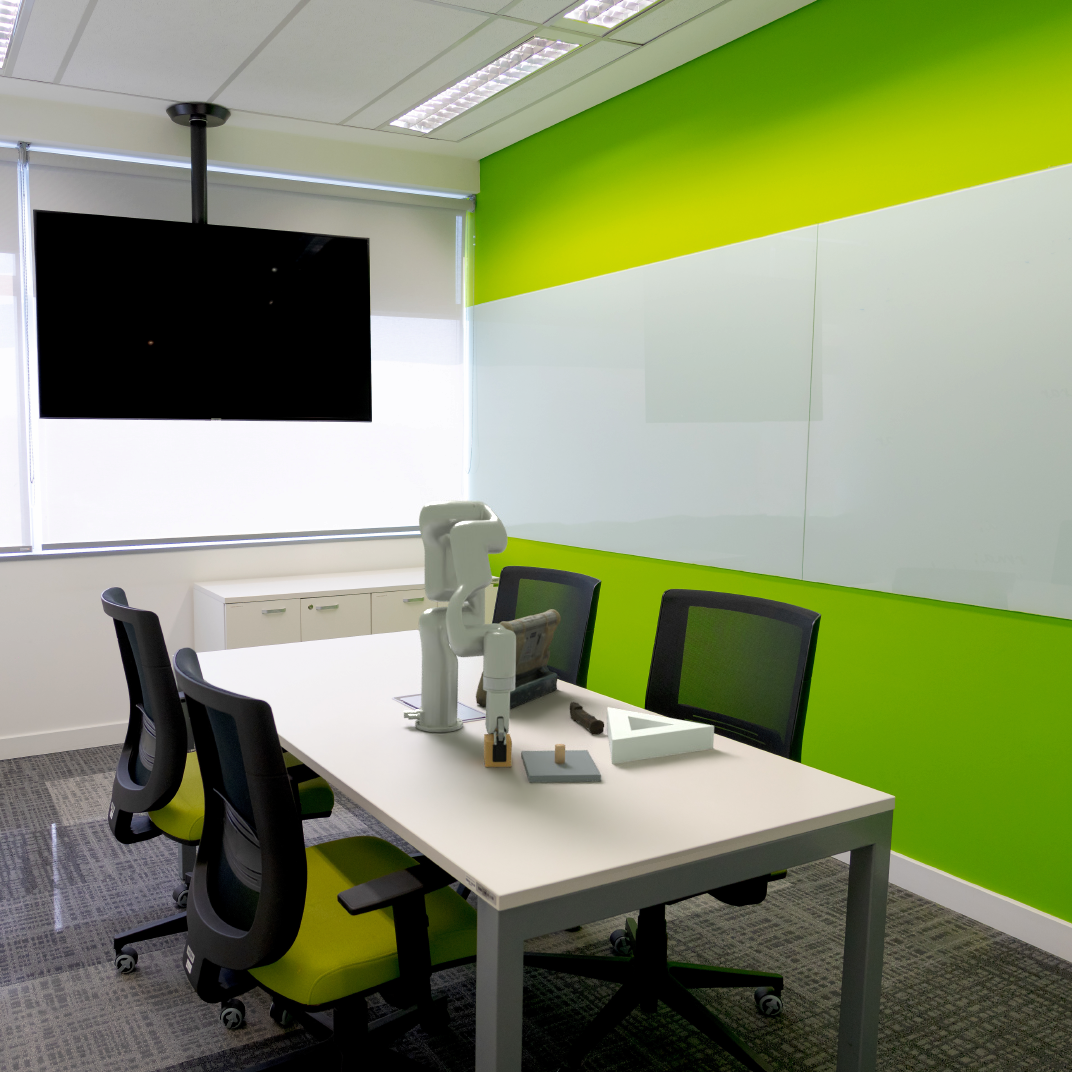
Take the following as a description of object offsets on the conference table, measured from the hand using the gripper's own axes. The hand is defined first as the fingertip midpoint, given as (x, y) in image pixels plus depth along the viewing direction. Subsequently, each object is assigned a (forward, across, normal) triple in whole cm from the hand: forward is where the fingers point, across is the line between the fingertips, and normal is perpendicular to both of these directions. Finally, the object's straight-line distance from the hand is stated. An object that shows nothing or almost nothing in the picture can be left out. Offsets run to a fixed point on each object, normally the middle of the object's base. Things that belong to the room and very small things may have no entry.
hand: (497, 755), depth 230 cm
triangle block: (+3, -11, +42) cm, 43 cm away
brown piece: (+2, -31, +25) cm, 40 cm away
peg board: (+2, +5, +14) cm, 15 cm away
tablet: (+2, -62, +11) cm, 63 cm away
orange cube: (+2, 0, 0) cm, 2 cm away
